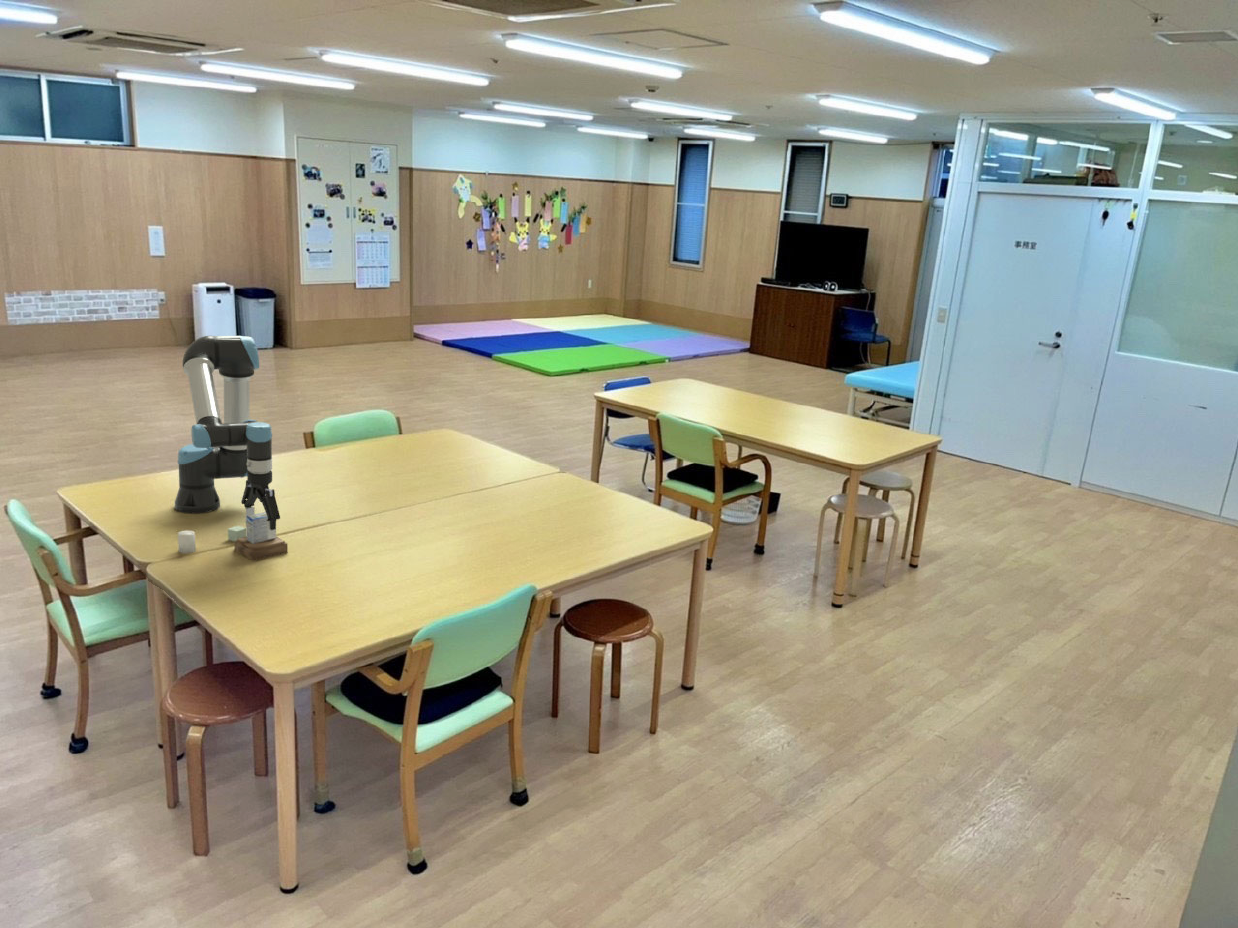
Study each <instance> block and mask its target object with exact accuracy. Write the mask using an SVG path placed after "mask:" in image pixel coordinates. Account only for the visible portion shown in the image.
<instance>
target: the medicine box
mask: <svg viewBox="0 0 1238 928" xmlns="http://www.w3.org/2000/svg"><path fill="white" fill-rule="evenodd" d="M267 519H268V517H267V514H266V512H265V511H264V512H258V513H255V514H253V515H249V516H246V515H245V528H246V536H247V540H248V541H249V542H251V543H253V544H255V543H259V542H263V541H267V540H271V539H267ZM272 539H275V538H272Z"/></svg>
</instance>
